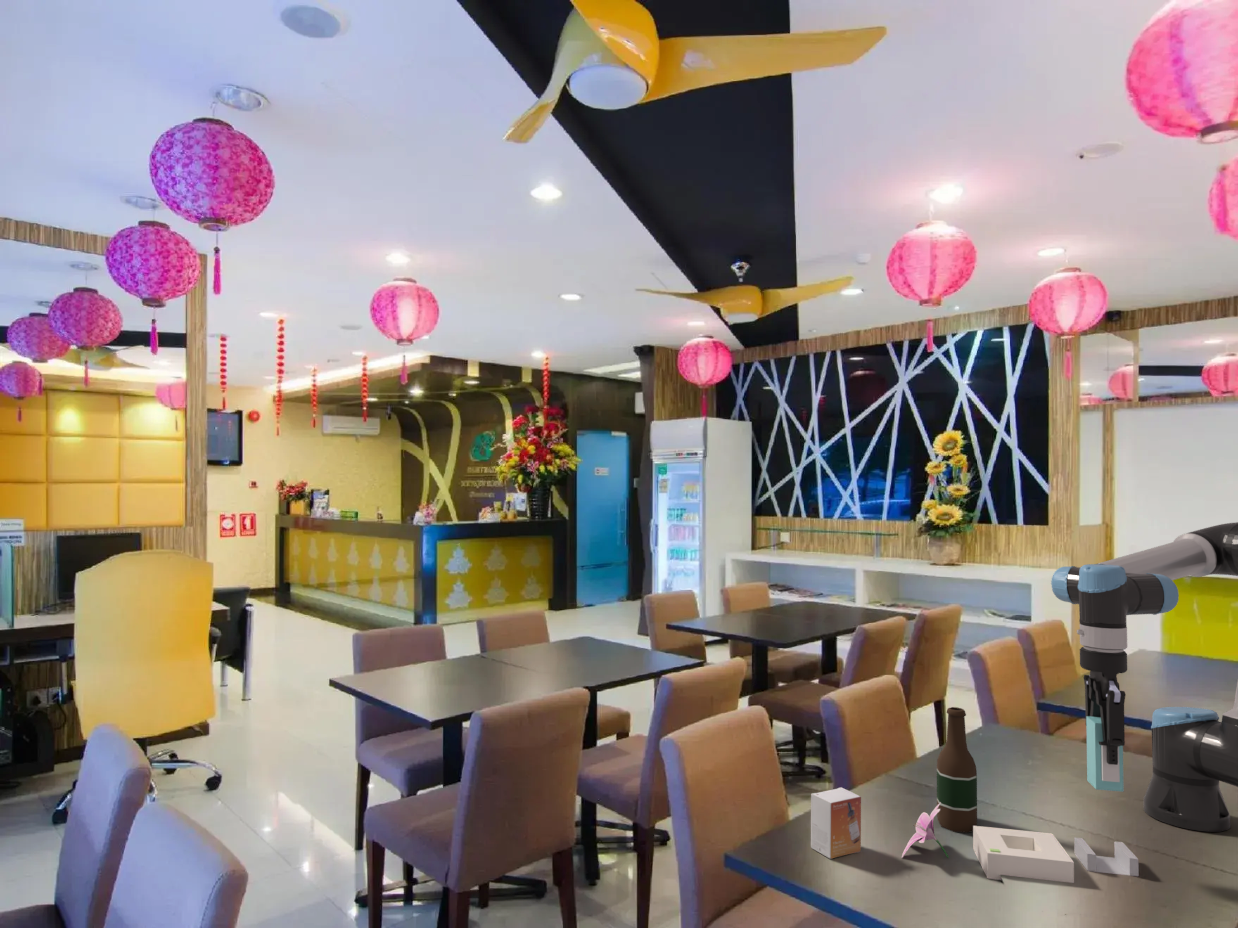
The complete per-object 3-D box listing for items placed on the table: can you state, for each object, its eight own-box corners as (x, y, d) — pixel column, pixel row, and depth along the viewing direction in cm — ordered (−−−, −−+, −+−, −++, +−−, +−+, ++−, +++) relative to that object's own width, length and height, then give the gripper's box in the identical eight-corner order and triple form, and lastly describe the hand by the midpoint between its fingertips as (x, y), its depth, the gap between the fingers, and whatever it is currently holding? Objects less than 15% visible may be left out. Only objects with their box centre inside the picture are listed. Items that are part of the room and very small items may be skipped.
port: (1052, 857, 149) (1052, 832, 149) (1074, 888, 137) (1073, 860, 137) (973, 848, 152) (973, 824, 152) (987, 878, 140) (987, 851, 140)
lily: (928, 841, 157) (903, 797, 159) (980, 837, 149) (953, 791, 150) (902, 879, 149) (875, 832, 151) (955, 877, 141) (926, 828, 142)
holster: (1122, 863, 146) (1122, 842, 147) (1138, 881, 140) (1138, 858, 140) (1074, 858, 148) (1074, 837, 148) (1087, 876, 141) (1087, 853, 142)
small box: (830, 860, 147) (830, 803, 147) (809, 847, 152) (810, 792, 152) (862, 851, 150) (862, 795, 151) (841, 840, 155) (841, 786, 156)
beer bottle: (974, 836, 157) (973, 715, 158) (933, 827, 162) (932, 709, 162) (979, 823, 164) (979, 707, 165) (940, 814, 168) (939, 701, 169)
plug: (1114, 782, 146) (1112, 717, 147) (1123, 791, 142) (1122, 724, 142) (1087, 780, 147) (1086, 715, 148) (1096, 789, 143) (1094, 722, 143)
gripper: (1065, 638, 155) (1066, 758, 154) (1097, 656, 138) (1100, 791, 137) (1107, 640, 153) (1109, 761, 152) (1145, 659, 136) (1148, 795, 135)
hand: (1105, 775), depth 145 cm, fingers closed on plug, 4 cm apart
